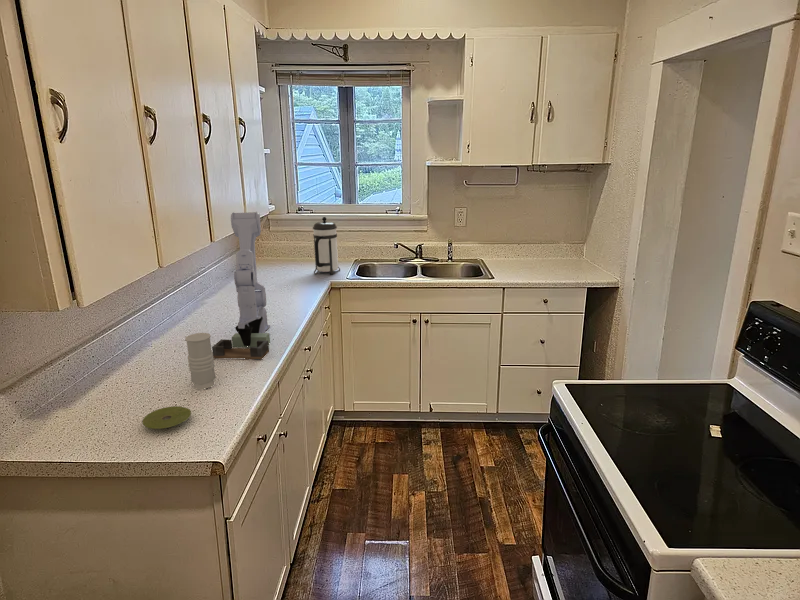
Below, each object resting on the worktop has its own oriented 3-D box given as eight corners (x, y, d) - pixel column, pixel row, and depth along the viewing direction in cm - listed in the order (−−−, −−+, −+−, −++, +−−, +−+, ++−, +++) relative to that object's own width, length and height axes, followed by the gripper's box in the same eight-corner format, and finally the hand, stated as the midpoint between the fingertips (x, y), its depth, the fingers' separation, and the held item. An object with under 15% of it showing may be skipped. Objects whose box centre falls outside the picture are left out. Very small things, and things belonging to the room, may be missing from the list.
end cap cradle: (222, 350, 180) (221, 339, 179) (269, 351, 178) (268, 340, 177) (213, 358, 174) (211, 347, 172) (261, 359, 172) (260, 348, 171)
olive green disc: (178, 408, 141) (177, 401, 140) (200, 422, 134) (199, 415, 133) (135, 425, 133) (134, 418, 132) (156, 440, 126) (155, 433, 125)
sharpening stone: (236, 343, 187) (235, 333, 186) (270, 343, 186) (269, 333, 185) (232, 348, 183) (231, 337, 182) (267, 348, 182) (266, 337, 181)
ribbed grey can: (210, 378, 159) (204, 330, 155) (220, 385, 154) (214, 337, 150) (188, 384, 155) (181, 336, 150) (197, 392, 150) (190, 343, 145)
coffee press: (308, 271, 291) (304, 216, 282) (336, 268, 297) (333, 214, 289) (317, 278, 276) (313, 220, 267) (346, 274, 282) (343, 218, 274)
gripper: (250, 310, 173) (254, 349, 177) (266, 298, 187) (269, 334, 191) (230, 310, 174) (234, 348, 178) (247, 297, 188) (250, 333, 191)
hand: (251, 341), depth 184 cm, fingers open, 7 cm apart
